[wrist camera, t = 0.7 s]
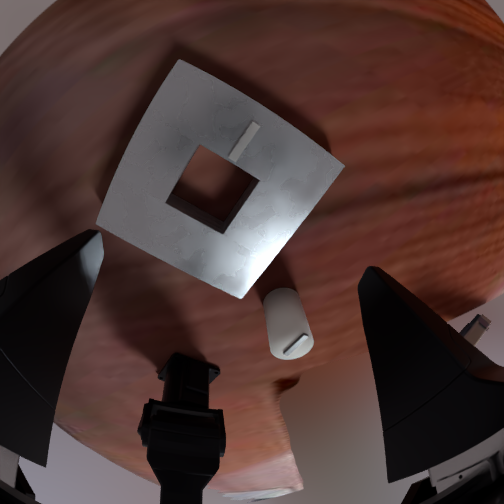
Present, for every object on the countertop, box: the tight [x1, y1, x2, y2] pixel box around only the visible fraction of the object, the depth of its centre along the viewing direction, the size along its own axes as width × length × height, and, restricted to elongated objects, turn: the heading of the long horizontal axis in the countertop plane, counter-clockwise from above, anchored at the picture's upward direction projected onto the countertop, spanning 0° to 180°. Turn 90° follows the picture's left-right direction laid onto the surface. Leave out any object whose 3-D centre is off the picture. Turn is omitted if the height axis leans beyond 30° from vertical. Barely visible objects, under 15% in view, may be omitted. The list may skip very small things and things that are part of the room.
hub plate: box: [96, 59, 345, 299], centre depth 20 cm, size 14×14×3 cm
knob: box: [263, 288, 314, 360], centre depth 25 cm, size 4×4×6 cm
